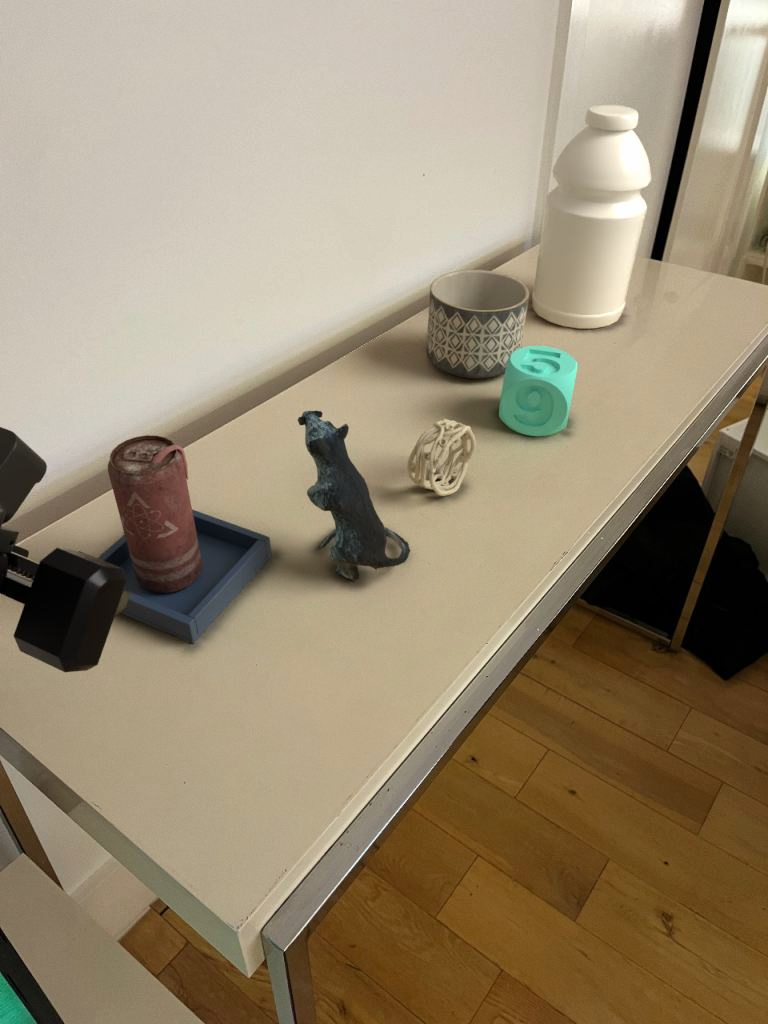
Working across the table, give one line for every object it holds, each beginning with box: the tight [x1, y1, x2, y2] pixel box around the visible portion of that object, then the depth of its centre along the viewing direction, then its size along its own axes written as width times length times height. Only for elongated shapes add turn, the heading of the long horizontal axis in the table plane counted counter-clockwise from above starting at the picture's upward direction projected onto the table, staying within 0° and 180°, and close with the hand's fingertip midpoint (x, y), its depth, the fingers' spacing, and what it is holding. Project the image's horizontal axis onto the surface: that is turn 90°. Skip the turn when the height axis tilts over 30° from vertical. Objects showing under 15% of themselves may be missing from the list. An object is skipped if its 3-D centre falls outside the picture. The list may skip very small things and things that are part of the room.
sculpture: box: [297, 410, 411, 582], centre depth 72 cm, size 8×11×15 cm
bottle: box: [531, 104, 652, 329], centre depth 110 cm, size 14×14×28 cm
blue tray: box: [97, 509, 273, 645], centre depth 73 cm, size 13×13×2 cm
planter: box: [426, 269, 530, 379], centre depth 103 cm, size 13×13×10 cm
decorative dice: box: [498, 345, 579, 437], centre depth 93 cm, size 8×8×8 cm
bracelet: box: [407, 418, 477, 497], centre depth 83 cm, size 4×8×8 cm, turn 141°
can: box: [107, 434, 202, 594], centre depth 69 cm, size 6×6×14 cm
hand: (74, 577), depth 54 cm, fingers open, 9 cm apart
